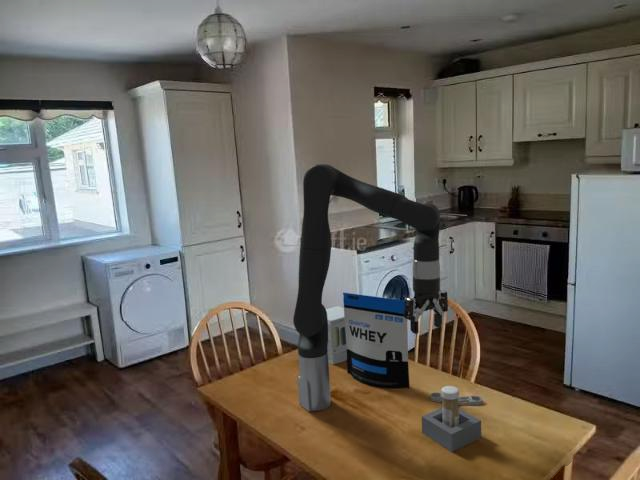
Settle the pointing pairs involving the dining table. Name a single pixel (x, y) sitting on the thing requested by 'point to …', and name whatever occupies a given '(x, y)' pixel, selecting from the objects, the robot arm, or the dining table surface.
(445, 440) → the well
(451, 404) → the sprinkles bottle
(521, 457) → the dining table surface
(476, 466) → the dining table surface
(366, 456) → the dining table surface
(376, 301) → the protein powder
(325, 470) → the dining table surface
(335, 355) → the supplement box
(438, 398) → the bracket
